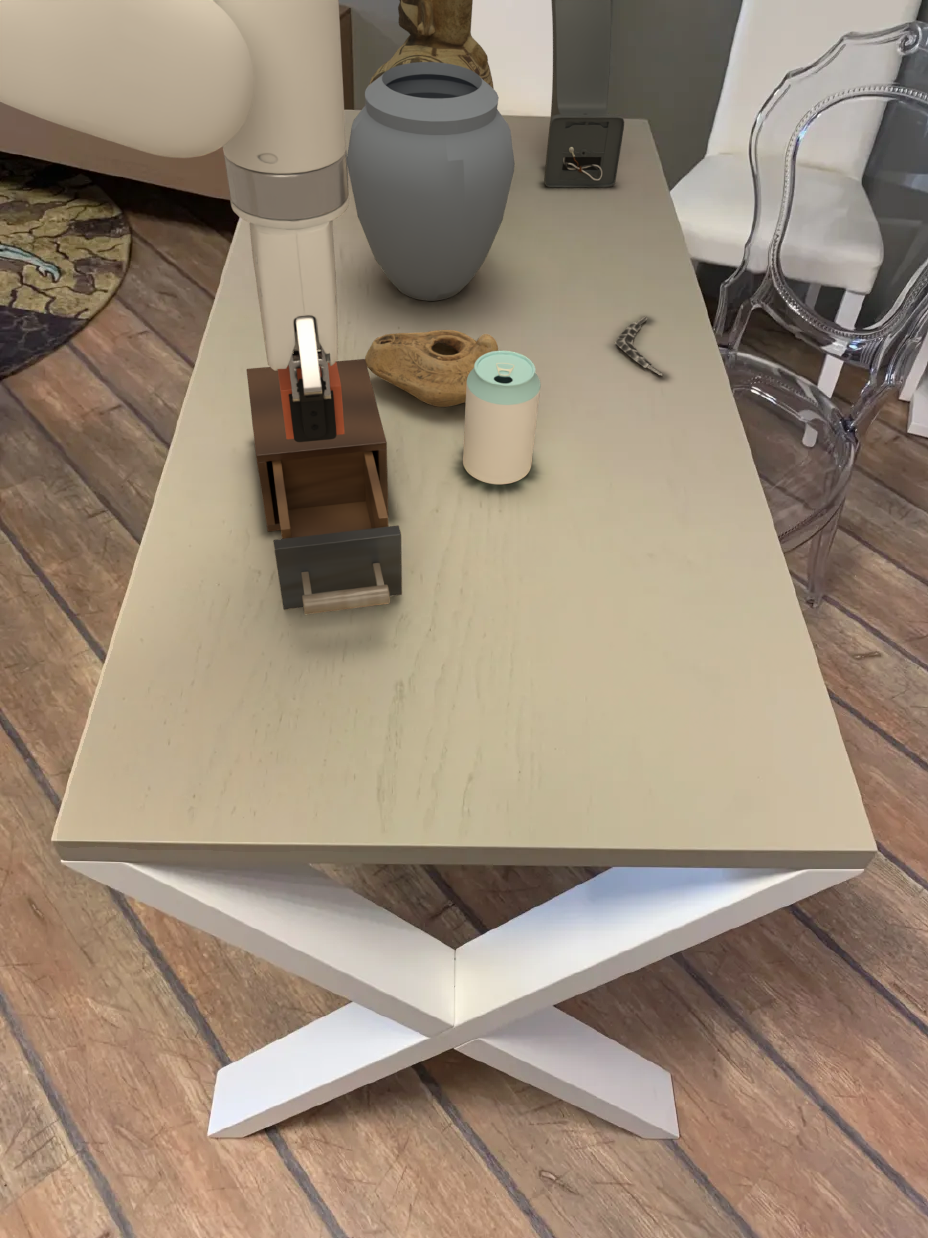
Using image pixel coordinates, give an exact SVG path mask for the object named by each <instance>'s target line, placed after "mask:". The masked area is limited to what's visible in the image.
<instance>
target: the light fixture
mask: <svg viewBox="0 0 928 1238" xmlns="http://www.w3.org/2000/svg"><path fill="white" fill-rule="evenodd" d="M551 18H552V19H551V20H552V21H551V22H552V83H551V84H552V85H551V86H552V87H551V105H550V107H551V108H550V119H549V125H548V126H549V128H548V136H547V146H546V154H545V155H546V156H545V164H544V165H545V167H544V174H543V175H544V177H543V181H544V184H545V186H546V187H548V188H611V187H613V186H614V185H615V184H616V179H617V174H618V169H619V163H620V156H621V149H622V143H623V136H624V131H625V130H624V129H625V119H624V118H623V116H622V115H620V114H610V112H609V109H608V102H609V87H610V75H611V73H610V72H611V44H612V43H611V42H612V0H551Z"/></svg>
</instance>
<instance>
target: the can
mask: <svg viewBox="0 0 928 1238" xmlns="http://www.w3.org/2000/svg"><path fill="white" fill-rule="evenodd" d="M541 385H542V384H541V380H540V377H539V376H538V374H537V373H536V366H535V363H534V362H533V361H532V360H531V359H530V358H529V357H527V356H526V355H524V354H522V353H520V352H517V351H511V350H498V351H493V352H489V353H486V354H484V355H482V356H481V357H479V358H478V359H477V360H476V362H475V365H474V368H473V369H472V371H471V372H470V373H469V375H468V377H467V386H466V402H465V407H464V408H465V410H464V429H463V447H462V448H463V449H462V450H463V451H462V464H463V468H464V469H465V471H466V472H467V474H469V475H470V476H471V477H473V478H474V479H475V480H478V481H480V482H482V483H486V484H490V485H508V484H513V483H516V482H518V481H520V480H522V479H524V478H525V477H526V476H527V475H528V474H529V473H530V471H531V468H532V464H533V454H534V445H535V439H536V438H535V436H536V428H537V419H538V412H539V403H540V396H541V395H540V394H541V387H542V386H541Z"/></svg>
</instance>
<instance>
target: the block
mask: <svg viewBox="0 0 928 1238" xmlns="http://www.w3.org/2000/svg"><path fill="white" fill-rule="evenodd" d="M319 369H320V367H319ZM328 370H329V380H330V391H331V390H333V394H334V407H335V420H336V433H337V435H341V434H344V419H343V404H342V390H341V382H340V377H339V372H338V367H337V362H335V363H334V364H333V365H332V366H330V363H328ZM278 375H279V383H280V391H281V399H282V407H283V415H284V423H285V431H286V439H294V435H293V427H292V419H291V410H290V402H289V394H292V389H291V380H290V372H289V366H287V368H286V369H278ZM297 377H298V381H299V379H302V372H301V368H300V369H297ZM320 377H321V369H320Z"/></svg>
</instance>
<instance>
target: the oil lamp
mask: <svg viewBox="0 0 928 1238" xmlns="http://www.w3.org/2000/svg"><path fill="white" fill-rule="evenodd" d="M493 351H499V346H498V343H497V340H496V338H494V337H493V336H492V335H490V334H489V333H483V334H481V336H480V337H479V338H478V339H477V340H476V339H474V338H472V337H471V336H469V335H468V334H467V333H464V332H461V331H458V330H453V329H437V330H429V331H423V332H398V333H386V334H383V335H380V336H378V337H376V338H375V339H374V340H373V342H372V343H371V345H370V347H369V348H368V351H367V352H366V354H365V358H364V359H365V361H366V365H367V369H368V371H370V372H371V373H372V374H374V375H375V376H377V377H378V378H380V379H382V380H384V381H386V382H387V383H389V384H391V385H393V386H396V387H398V388H399V389H401V390H403V391H404V392H407V393H409V394H410V395H412V396H413V397H415V398H416V399H418V400H419V401H421V402H423V403H425V404H428V405H430V406H434V407H439V408H448V407H453V406H454V407H455V406H458V405H460V404H464V403H466V386H467V377H468V375H469V373H470V372H471V371H472V369H473V368H474V365H475V362H476V360H477V359H478V358H479V357H481V356H482V355H484V354H486V353H489V352H493Z"/></svg>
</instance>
